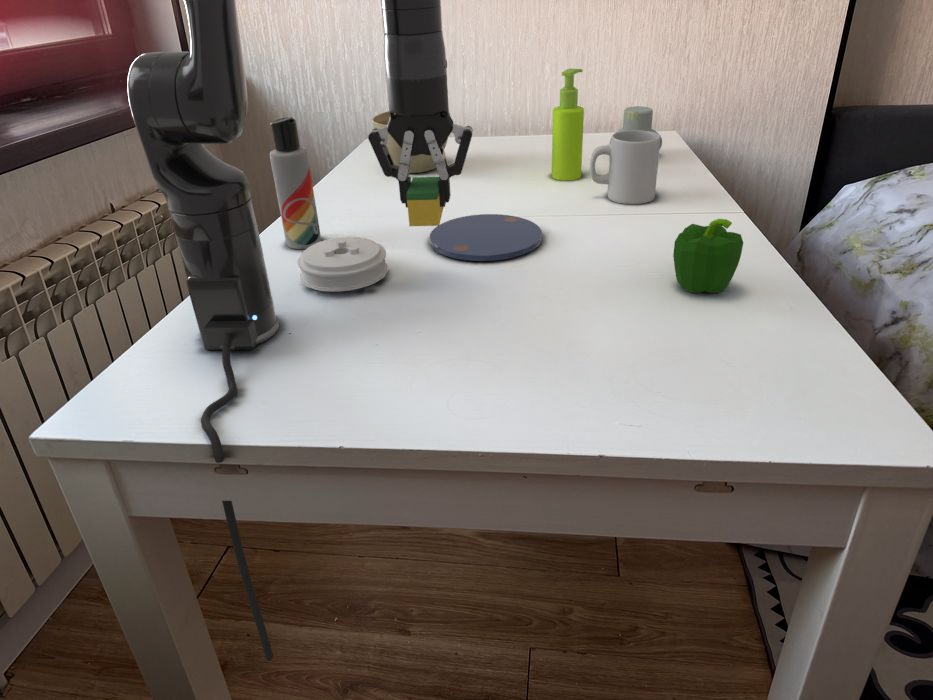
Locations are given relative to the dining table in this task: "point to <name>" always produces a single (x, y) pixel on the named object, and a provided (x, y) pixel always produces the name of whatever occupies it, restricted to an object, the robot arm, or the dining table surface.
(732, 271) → the bell pepper
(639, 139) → the mug
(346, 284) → the lid
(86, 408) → the dining table surface
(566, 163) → the soap dispenser
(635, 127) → the air freshener
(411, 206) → the sponge
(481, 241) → the plate
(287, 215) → the lotion bottle
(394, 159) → the planter bowl
